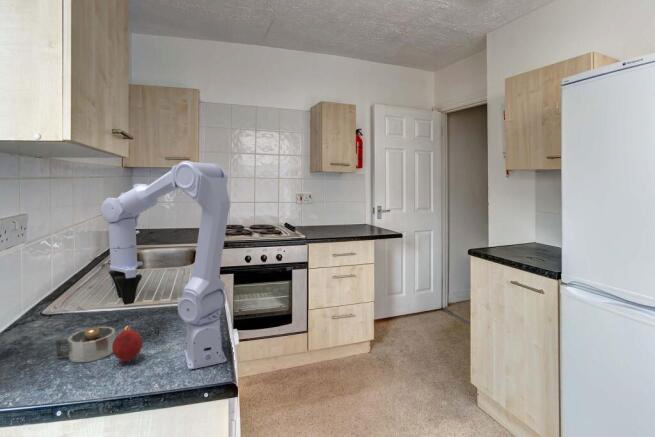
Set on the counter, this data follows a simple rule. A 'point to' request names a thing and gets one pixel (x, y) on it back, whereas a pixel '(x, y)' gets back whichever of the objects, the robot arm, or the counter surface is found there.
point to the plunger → (92, 334)
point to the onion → (127, 344)
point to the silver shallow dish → (87, 346)
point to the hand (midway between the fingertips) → (126, 300)
